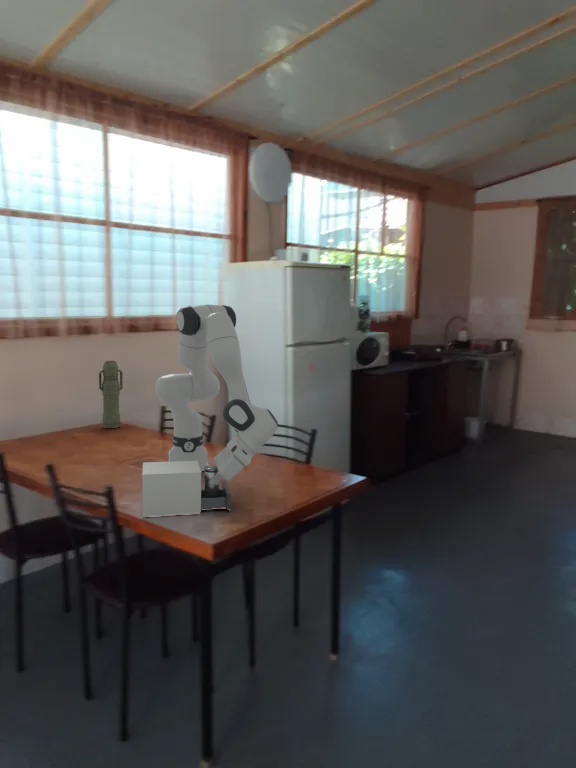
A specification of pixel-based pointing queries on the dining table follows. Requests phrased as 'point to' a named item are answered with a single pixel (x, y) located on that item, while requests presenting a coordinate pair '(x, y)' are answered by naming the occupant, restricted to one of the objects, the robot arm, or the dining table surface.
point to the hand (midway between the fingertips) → (209, 480)
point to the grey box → (171, 487)
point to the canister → (209, 488)
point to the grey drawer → (217, 498)
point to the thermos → (111, 394)
